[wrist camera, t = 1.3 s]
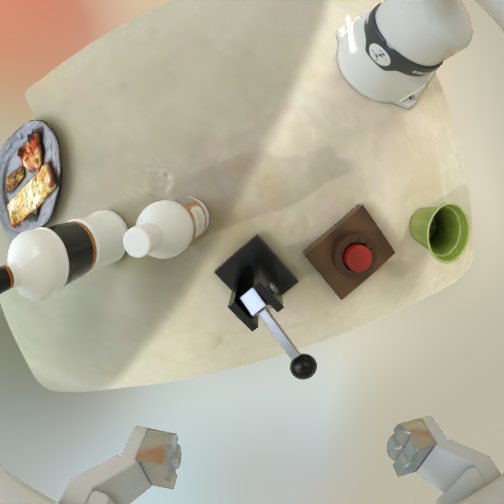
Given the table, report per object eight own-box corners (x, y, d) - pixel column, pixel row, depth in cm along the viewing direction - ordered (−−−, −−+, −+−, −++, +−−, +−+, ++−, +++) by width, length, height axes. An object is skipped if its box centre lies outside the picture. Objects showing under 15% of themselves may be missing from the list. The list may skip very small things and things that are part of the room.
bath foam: (212, 237, 44) (178, 276, 24) (171, 242, 44) (113, 282, 24) (206, 193, 42) (165, 198, 23) (165, 200, 42) (99, 211, 23)
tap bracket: (297, 279, 45) (311, 312, 32) (255, 312, 46) (255, 354, 34) (257, 233, 43) (256, 251, 31) (215, 269, 45) (199, 300, 32)
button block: (357, 204, 42) (367, 205, 38) (389, 250, 43) (400, 255, 39) (302, 252, 44) (306, 258, 40) (338, 295, 45) (344, 304, 41)
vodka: (137, 219, 43) (-5, 269, 14) (124, 269, 45) (4, 356, 16) (95, 202, 43) (-47, 230, 13) (84, 250, 45) (-41, 310, 15)
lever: (323, 366, 31) (320, 372, 28) (302, 380, 32) (297, 387, 29) (263, 285, 36) (254, 284, 33) (244, 300, 36) (235, 300, 33)
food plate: (56, 101, 38) (46, 98, 34) (80, 204, 43) (69, 206, 39) (-7, 161, 40) (-16, 161, 37) (13, 249, 45) (3, 252, 42)
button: (358, 237, 39) (362, 240, 38) (372, 257, 40) (376, 260, 38) (338, 255, 40) (342, 258, 38) (353, 274, 41) (357, 277, 39)
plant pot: (417, 261, 44) (443, 275, 35) (392, 221, 42) (418, 229, 34) (447, 228, 42) (476, 236, 34) (425, 188, 41) (454, 190, 32)
